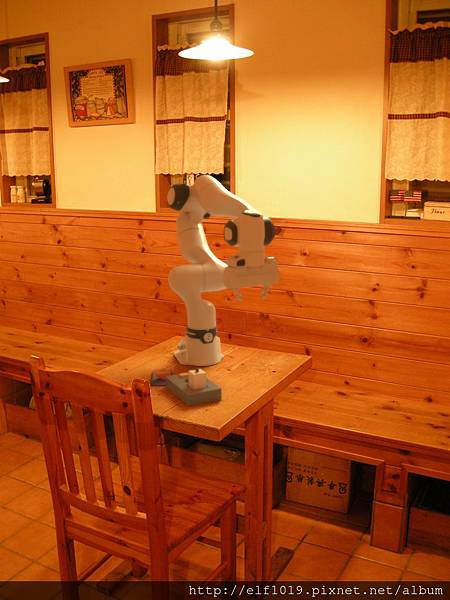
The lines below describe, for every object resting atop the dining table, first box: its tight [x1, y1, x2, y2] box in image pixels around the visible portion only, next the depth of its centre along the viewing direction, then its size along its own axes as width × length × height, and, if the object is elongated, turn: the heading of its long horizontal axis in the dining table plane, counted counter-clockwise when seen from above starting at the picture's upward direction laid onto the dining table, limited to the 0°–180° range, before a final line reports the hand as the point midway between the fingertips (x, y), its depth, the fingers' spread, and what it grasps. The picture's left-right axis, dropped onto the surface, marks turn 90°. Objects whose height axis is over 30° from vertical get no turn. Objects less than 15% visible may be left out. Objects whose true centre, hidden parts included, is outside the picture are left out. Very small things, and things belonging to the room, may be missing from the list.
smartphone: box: [150, 369, 173, 387], centre depth 227 cm, size 7×15×1 cm, turn 4°
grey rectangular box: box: [165, 372, 222, 407], centre depth 212 cm, size 20×12×5 cm, turn 27°
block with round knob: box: [188, 367, 207, 390], centre depth 208 cm, size 4×4×10 cm
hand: (251, 298), depth 214 cm, fingers open, 8 cm apart
